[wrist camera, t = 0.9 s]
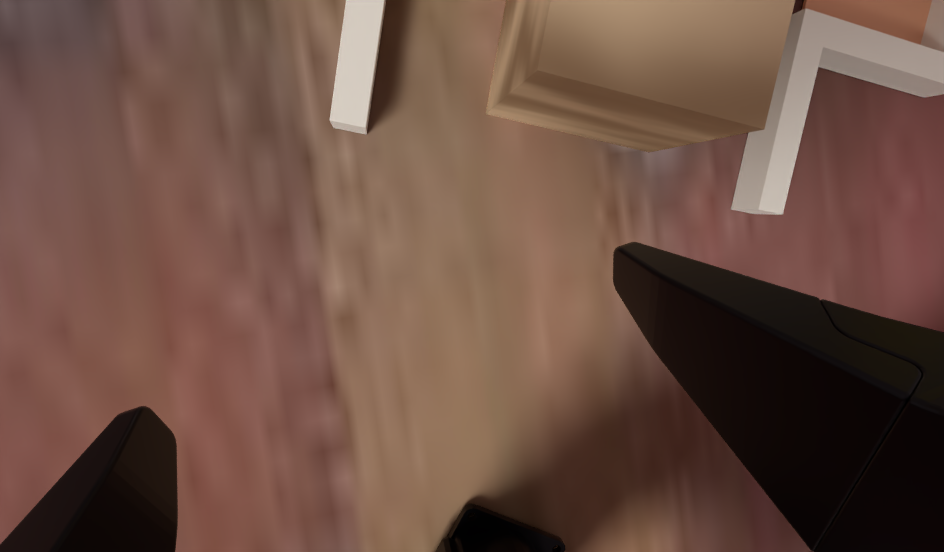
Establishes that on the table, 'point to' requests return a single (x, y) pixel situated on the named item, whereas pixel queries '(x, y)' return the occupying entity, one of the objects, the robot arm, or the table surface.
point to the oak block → (640, 68)
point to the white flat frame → (806, 48)
